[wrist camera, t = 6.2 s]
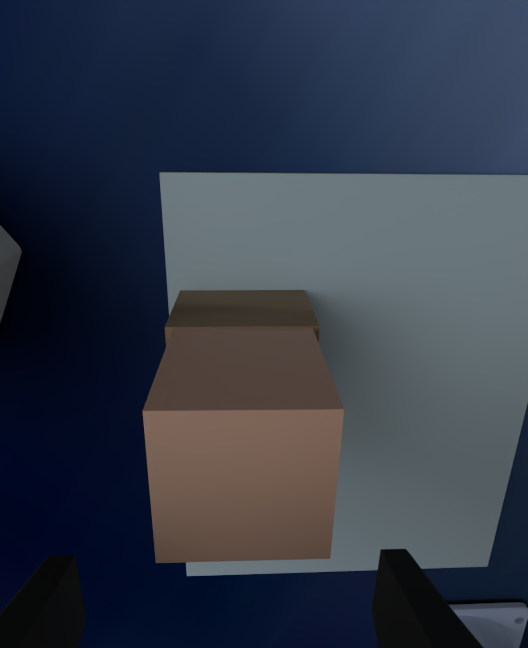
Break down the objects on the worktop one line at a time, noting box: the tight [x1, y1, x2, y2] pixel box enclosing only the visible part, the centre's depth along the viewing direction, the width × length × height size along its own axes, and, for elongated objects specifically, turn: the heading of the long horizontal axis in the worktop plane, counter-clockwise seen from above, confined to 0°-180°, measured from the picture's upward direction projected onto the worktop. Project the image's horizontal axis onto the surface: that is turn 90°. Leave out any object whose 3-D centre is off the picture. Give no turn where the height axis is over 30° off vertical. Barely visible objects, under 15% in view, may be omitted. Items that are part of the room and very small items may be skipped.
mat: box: [160, 172, 528, 576], centre depth 21 cm, size 20×16×1 cm
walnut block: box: [165, 290, 320, 346], centre depth 18 cm, size 5×5×4 cm
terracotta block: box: [143, 328, 344, 563], centre depth 14 cm, size 4×4×5 cm
